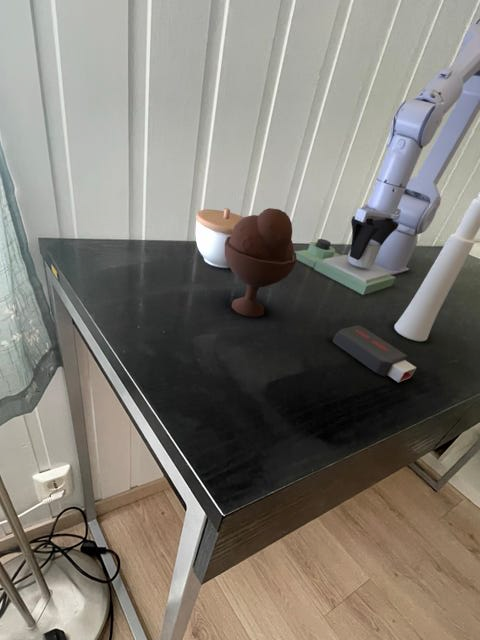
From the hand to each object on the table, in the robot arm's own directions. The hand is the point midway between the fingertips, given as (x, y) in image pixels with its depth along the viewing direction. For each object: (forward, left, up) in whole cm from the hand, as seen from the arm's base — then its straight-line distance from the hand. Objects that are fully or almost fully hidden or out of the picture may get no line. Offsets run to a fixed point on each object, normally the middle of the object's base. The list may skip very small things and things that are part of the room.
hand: (361, 256), depth 80 cm
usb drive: (+28, +21, -5) cm, 35 cm away
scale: (0, 0, -5) cm, 5 cm away
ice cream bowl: (+35, +1, -5) cm, 35 cm away
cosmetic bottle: (+12, +20, -5) cm, 24 cm away
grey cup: (0, 0, -1) cm, 1 cm away
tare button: (0, -10, -2) cm, 10 cm away
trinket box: (+26, -16, -5) cm, 31 cm away
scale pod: (0, -10, -5) cm, 11 cm away
